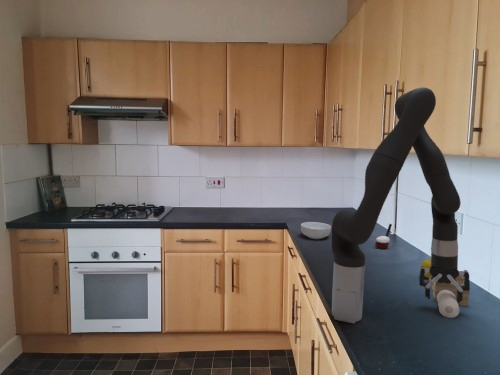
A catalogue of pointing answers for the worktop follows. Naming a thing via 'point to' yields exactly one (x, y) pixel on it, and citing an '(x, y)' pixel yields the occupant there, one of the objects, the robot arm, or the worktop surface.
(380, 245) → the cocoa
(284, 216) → the worktop surface
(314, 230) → the cereal bowl
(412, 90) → the robot arm
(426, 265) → the lemon
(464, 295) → the roll holder
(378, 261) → the worktop surface
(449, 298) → the paper roll
